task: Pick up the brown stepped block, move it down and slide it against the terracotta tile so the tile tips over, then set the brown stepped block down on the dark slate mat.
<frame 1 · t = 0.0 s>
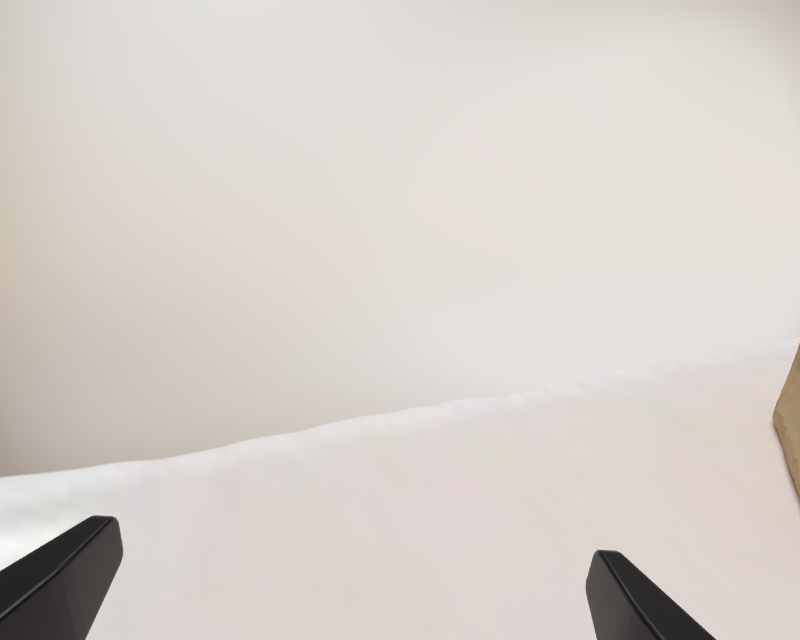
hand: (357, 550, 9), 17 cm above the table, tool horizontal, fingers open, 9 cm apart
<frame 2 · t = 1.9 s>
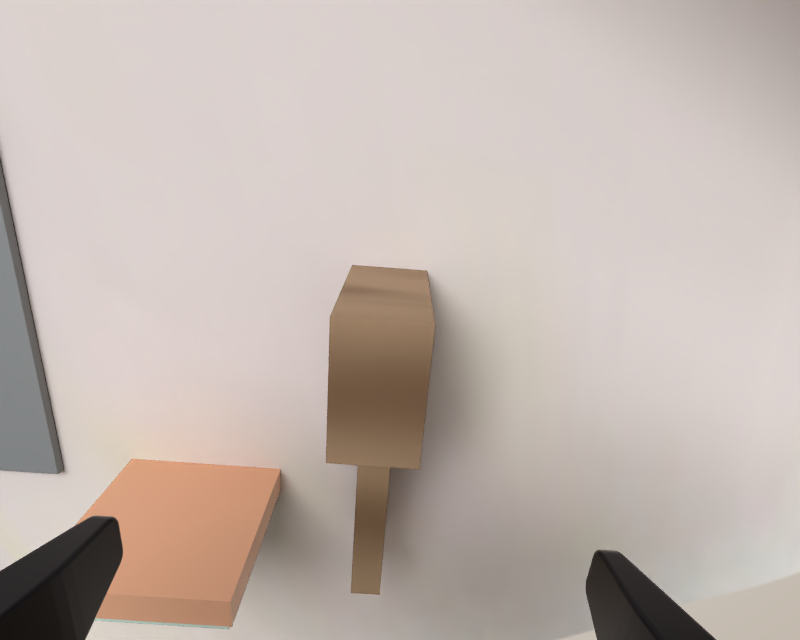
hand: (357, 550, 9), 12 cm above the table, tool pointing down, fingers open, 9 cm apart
tile: (207, 477, 23), on the table
brown stepped block: (380, 398, 21), on the table
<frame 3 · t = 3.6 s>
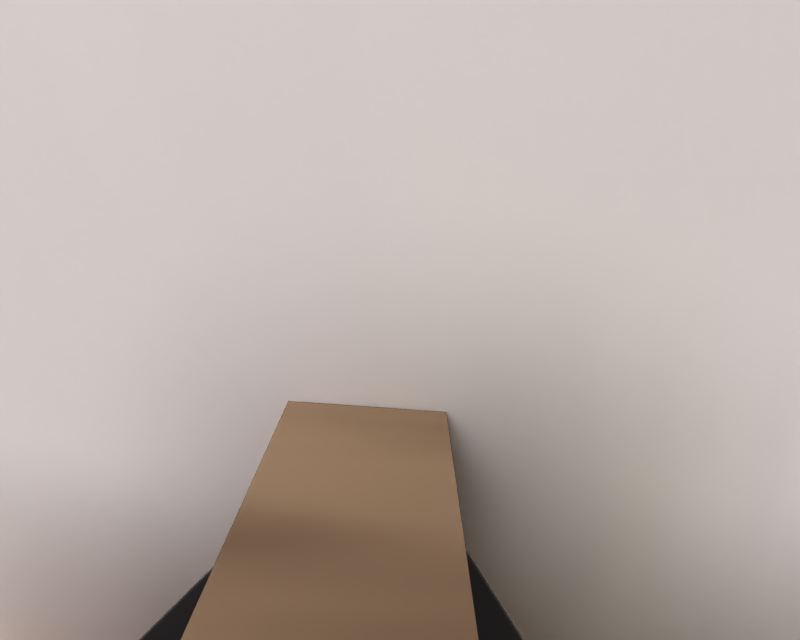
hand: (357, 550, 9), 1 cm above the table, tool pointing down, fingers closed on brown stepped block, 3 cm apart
brown stepped block: (355, 629, 11), on the table, touching gripper
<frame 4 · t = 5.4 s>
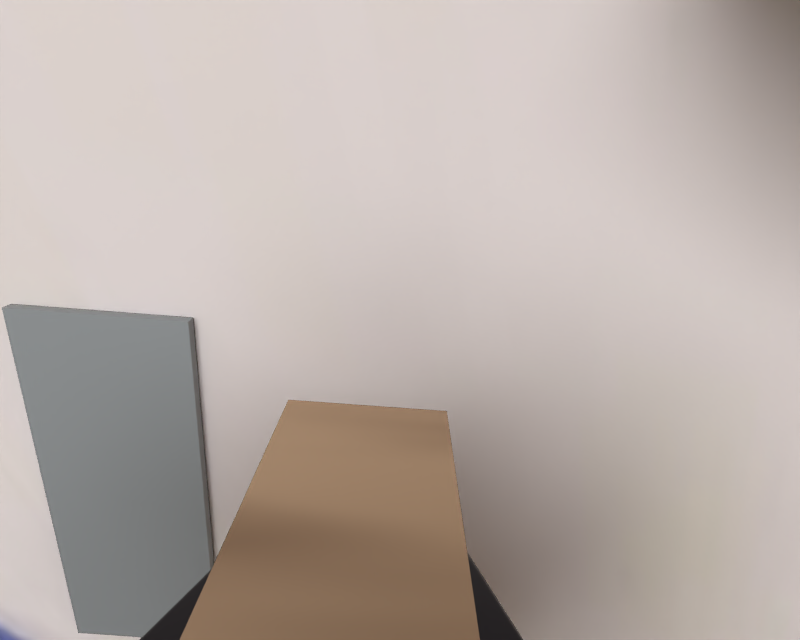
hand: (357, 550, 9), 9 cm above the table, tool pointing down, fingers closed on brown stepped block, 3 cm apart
mat: (130, 492, 20), on the table
brown stepped block: (354, 629, 11), point 8 cm above the table, touching gripper
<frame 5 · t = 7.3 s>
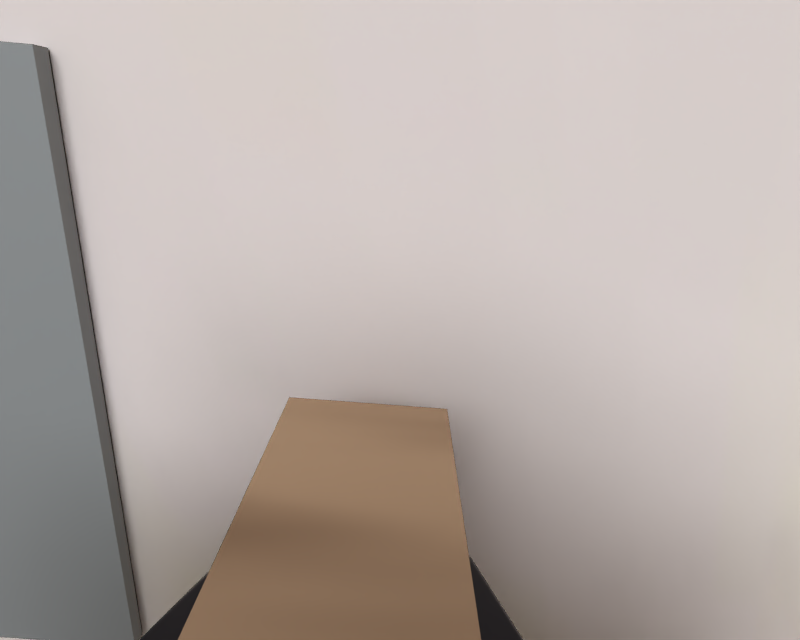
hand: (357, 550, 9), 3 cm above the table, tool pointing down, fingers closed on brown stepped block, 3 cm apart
brown stepped block: (354, 627, 11), point 2 cm above the table, touching gripper
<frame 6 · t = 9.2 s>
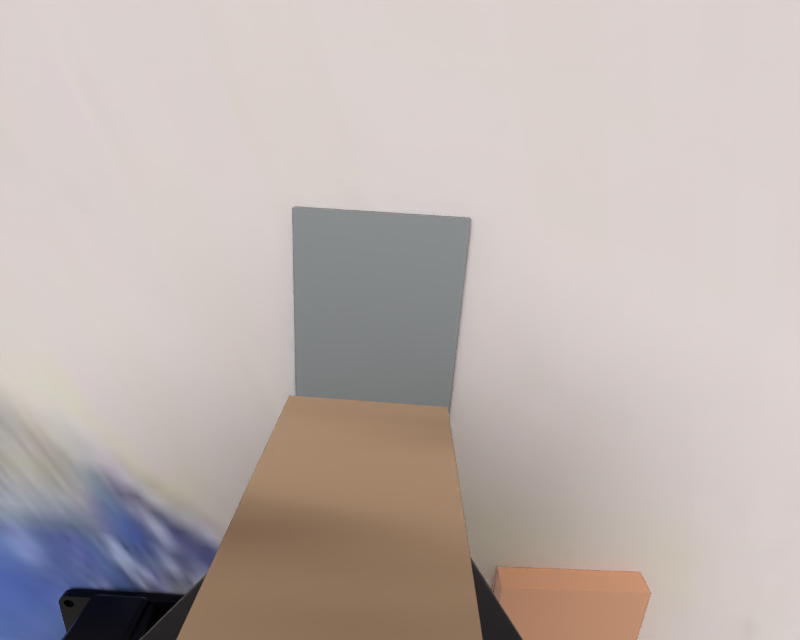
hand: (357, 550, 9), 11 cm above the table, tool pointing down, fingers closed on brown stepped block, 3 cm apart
mat: (373, 402, 20), on the table
tile: (571, 575, 23), on the table, tilted 90°
brown stepped block: (355, 626, 11), point 10 cm above the table, touching gripper
when the fingers open (2 cm above the table, at t = 10.7 s): brown stepped block drops 1 cm, resting on mat.
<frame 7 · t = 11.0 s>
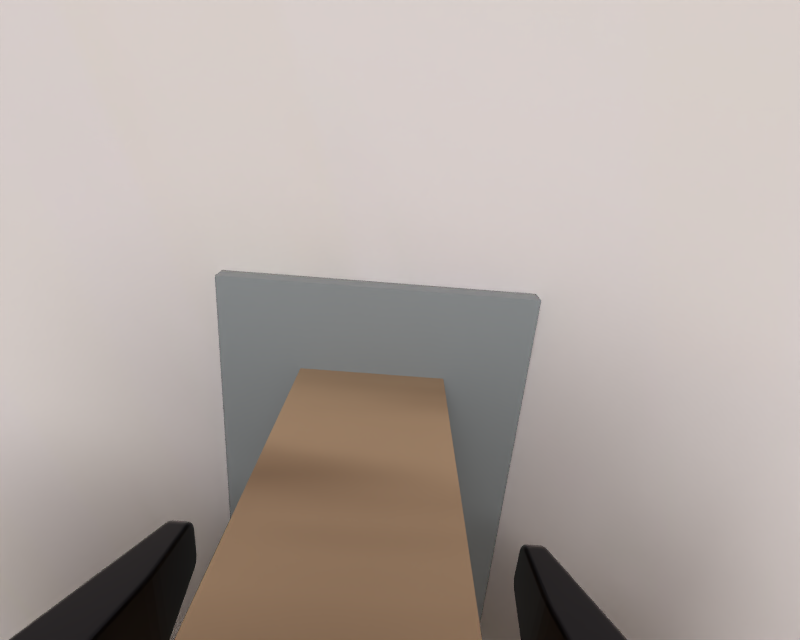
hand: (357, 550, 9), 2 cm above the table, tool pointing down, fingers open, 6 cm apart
mat: (361, 574, 13), on the table
brown stepped block: (359, 584, 12), resting on mat
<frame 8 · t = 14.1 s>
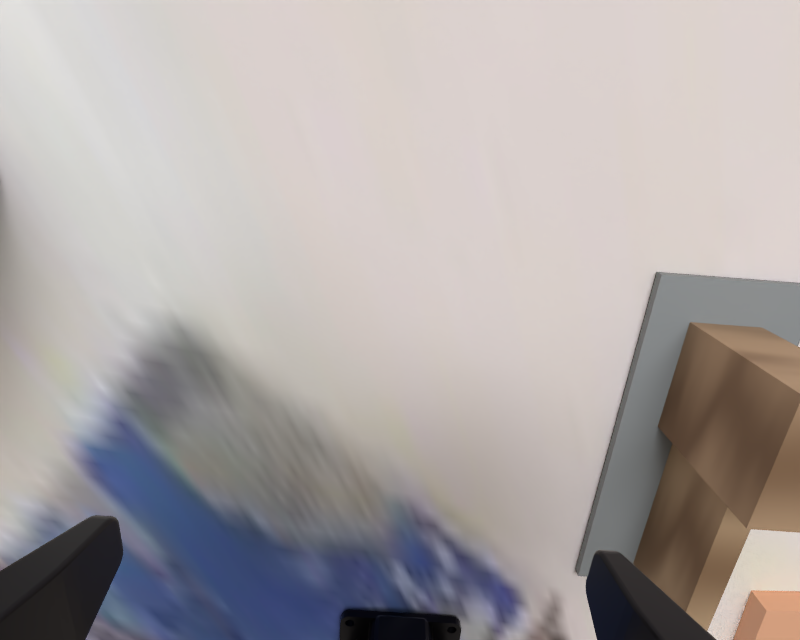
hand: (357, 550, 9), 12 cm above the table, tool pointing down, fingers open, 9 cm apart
mat: (679, 444, 22), on the table
brown stepped block: (684, 447, 22), resting on mat
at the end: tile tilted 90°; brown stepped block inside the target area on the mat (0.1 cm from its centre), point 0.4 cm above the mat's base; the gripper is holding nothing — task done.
